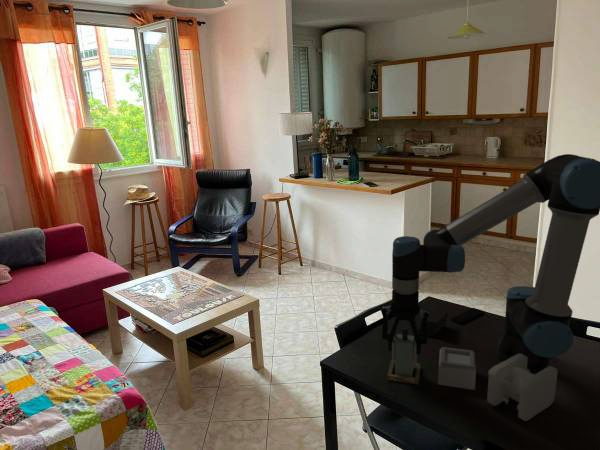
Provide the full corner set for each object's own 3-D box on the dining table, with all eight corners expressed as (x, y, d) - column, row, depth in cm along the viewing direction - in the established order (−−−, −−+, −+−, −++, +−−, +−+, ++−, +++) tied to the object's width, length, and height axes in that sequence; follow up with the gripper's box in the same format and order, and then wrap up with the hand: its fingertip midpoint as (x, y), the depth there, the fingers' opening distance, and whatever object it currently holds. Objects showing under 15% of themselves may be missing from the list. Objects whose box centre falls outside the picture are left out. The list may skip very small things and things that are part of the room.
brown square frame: (420, 367, 138) (420, 363, 138) (418, 384, 130) (418, 380, 130) (391, 363, 141) (391, 359, 141) (387, 380, 133) (387, 375, 133)
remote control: (473, 311, 176) (449, 321, 168) (473, 307, 176) (449, 317, 168) (484, 315, 173) (461, 326, 164) (484, 311, 172) (461, 321, 164)
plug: (413, 371, 137) (414, 326, 133) (411, 380, 133) (413, 334, 129) (396, 368, 139) (397, 324, 135) (394, 377, 134) (395, 332, 130)
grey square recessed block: (473, 370, 136) (474, 350, 134) (474, 389, 126) (476, 368, 125) (439, 366, 139) (439, 345, 137) (438, 384, 130) (438, 363, 128)
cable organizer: (521, 427, 111) (525, 386, 108) (484, 405, 120) (487, 367, 117) (554, 405, 119) (559, 366, 116) (517, 386, 128) (520, 349, 125)
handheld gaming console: (416, 318, 167) (433, 301, 163) (431, 329, 168) (449, 312, 163) (415, 337, 157) (434, 319, 153) (432, 348, 157) (451, 331, 153)
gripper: (439, 287, 129) (436, 358, 135) (375, 282, 135) (375, 351, 141) (438, 297, 122) (436, 372, 128) (371, 292, 128) (371, 363, 134)
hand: (404, 361), depth 135 cm, fingers open, 6 cm apart
